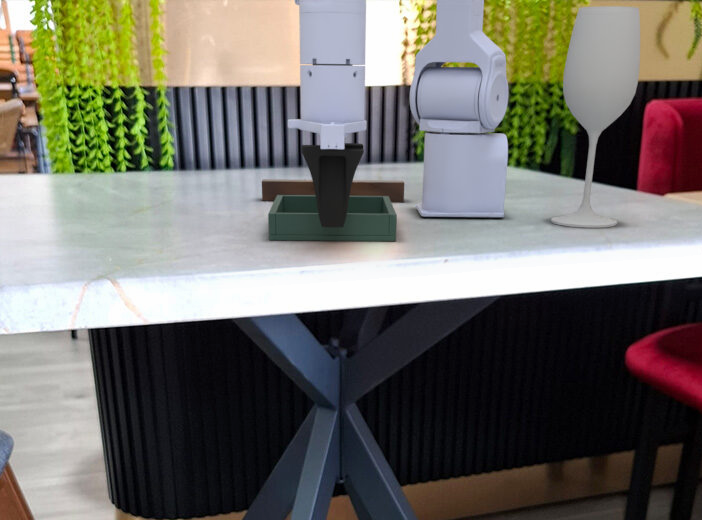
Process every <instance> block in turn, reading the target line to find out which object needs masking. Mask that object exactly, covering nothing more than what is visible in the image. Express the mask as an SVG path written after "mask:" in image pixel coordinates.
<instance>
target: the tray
mask: <svg viewBox="0 0 702 520" xmlns="http://www.w3.org/2000/svg"><path fill="white" fill-rule="evenodd" d="M267 219H268V220H267V222H268V224H267V225H268V240H269V241H319V242H320V241H321V242H323V241H326V242H327V241H328V242H331V241H333V242H337V241H339V242H340V241H341V242H396V241H397V219H398V215H397V212H396V210H395V208H394V206H393V202H391V201H390V198H389V196H349V203H348V210H347V215H346V220H345V224H344V227H322V226H321V223H320V219H319V214H318V208H317V201H316V195H277V196H276V199H275V201H273V203H272V204H271V207H270V210H269V211H268V213H267Z"/></svg>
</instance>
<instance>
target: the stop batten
mask: <svg viewBox="0 0 702 520" xmlns="http://www.w3.org/2000/svg"><path fill="white" fill-rule="evenodd" d="M277 195H315V189H314V184H313V180H312V179H290V178H289V179H279V178H278V179H275V178H274V179H273V178H266V179H265V178H263V179H262V180H261V200H262V202H274V201H275V199H276V196H277ZM350 196H389V198H390V201H391V203H404V202H405V181H404V180H388V179H387V180H386V179H385V180H384V179H383V180H382V179H380V180H379V179H377V180H374V179H371V180H370V179H353V181H352V186H351V190H350Z"/></svg>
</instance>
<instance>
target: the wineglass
mask: <svg viewBox="0 0 702 520" xmlns="http://www.w3.org/2000/svg"><path fill="white" fill-rule="evenodd" d="M640 16H641V15H640V8H639V7H635V6H620V5H619V6H613V5H612V6H609V5H607V6H605V5H603V6H584V7H579V8H578V11H577V14H576V17H575V21H574V25H573V28H572V33H571V35H570V41H569V46H568V50H567V54H566V59H565V65H564V70H563V80H562V92H563V97H564V102H565V104H566V106H567V108H568V110H569V111H570V114H571V115H572V116H573V117H574V118H575V119H576V120H577V122H578V123H579V124H580V125H581V126H582V127H583V128H584V130H585V131H586V133H587V135H588V153H587V161H586V169H585V172H586V173H585V178H584V179H585V180H584V187H583V188H584V189H583V196H582V200H581V204H580V206H579V207H578V209H577V210H576V211H574V212H572V213H569V214H565V215H559V216H554V217H551V218H550V222H551V223H552V224H554V225H559V226H565V227H572V228H584V229H585V228H588V229H590V228H591V229H592V228H593V229H594V228H596V229H597V228H600V229H601V228H610V227H615V226H617V225H618V220H615V219H613V218H608V217H605V216H602V215H599V214H597V213H595V212H594V211H593V208H592V205H591V193H592V184H593V175H594V166H595V159H596V150H597V144H598V140H599V137H600V136H601V134H602V132H603V131H604V130H606V129H607V128H608V127H609V126H610V125H611V124H613V123H614V122H616V120H618V118H620V116H622V114H623V113H624V112H625V111H626V110H627V109H628V108H629V106H630V105H631V104H632V101H633V99H634V97H635V96H636V93H637V87H638V83H639V78H640V77H639V76H640V63H641V19H640Z"/></svg>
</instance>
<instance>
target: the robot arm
mask: <svg viewBox="0 0 702 520" xmlns="http://www.w3.org/2000/svg"><path fill="white" fill-rule="evenodd" d="M294 4H295V5H297V6H298V14H299V15H298V18H299V19H298V20H299V21H298V22H299V23H298V24H299V25H298V26H299V81H300V83H299V84H300V85H299V86H300V89H299V90H300V118H289V119H288V120H287V128H288V129H298V130H300V131H303V132H304V131H305V132H310V133H314V134H318V136H319V137H320V138H319V139H320V140H319V141H320V144H301V146H300V152H301V155H302V156H303V158H304V161H305V163H306V166H307V167H308V170H309V173H310V176H311V177H310V178H311V180H313V184H314V189H315V195H316V201H317V208H318V214H319V219H320V223H321V226H322V227H344V224H345V220H346V215H347V210H348V203H349V196H350V190H351V186H352V181H353V180H354V177H355V174H356V171H357V169H358V167H359V164H360V162H361V159H362V157H363V155H364V153H365V149H364V144H363V143H358V142H357V143H356V142H355V143H354V142H349V143H348V142H345V140H346V139H345V138H347V137H349V134H353V133H359V132H365V131H366V130H367V122H368V121H367V120H366V119H365V113H366V112H365V111H366V109H365V108H366V107H365V104H366V103H365V102H366V32H367V31H366V29H367V26H366V25H367V0H294ZM484 8H485V0H436V14H435V15H436V19H435V35H434V36H433V37H432V38H431V39H430V40H429V41H428V42H427V43H426V44H425V45H424V46H423V47H422V48H421V49H420V50H419V51H418V52H417V53H416V54H415V62H414V70H413V71H414V72H413V77H412V81H411V83H410V88H409V106H410V111H411V114H412V117H413V119H414V121H415V122H416V123H417V125H418V126H419V129H418V130H419V131H422V132H424V144H423V145H424V147H423V171H422V173H423V175H422V195H421V196H422V197H421V203H416V204H415V208H416V210H417V211H418V213H419V215H420V217H424V218H504V217H505V199H506V188H507V187H506V186H507V174H508V161H509V143H508V137H507V134H505V133H497V132H496V133H495V131H496V128H498V126H499V125H500V123H501V122H502V121H503V120H504V117H505V115H506V112H507V109H508V104H509V82H508V78H507V59H506V57H507V56H506V54H505V52H504V51H503V50H502V49H501V48H500V47H499V46H498V45H497V44H496V43H495V42H494V41H492V40H491V38H489V37H488V36H487V34H485V32H484V31H483V29H484ZM446 63H472V64H474V65H477V66H443V65H444V64H446Z"/></svg>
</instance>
